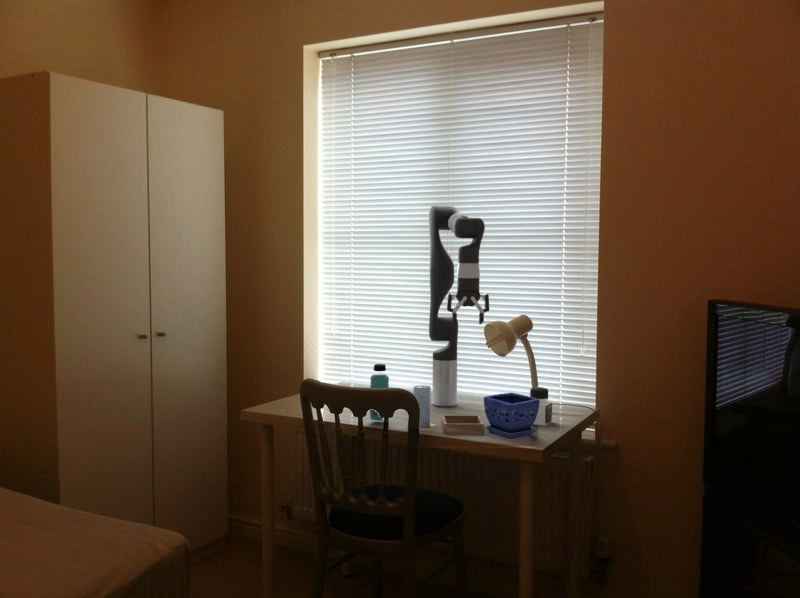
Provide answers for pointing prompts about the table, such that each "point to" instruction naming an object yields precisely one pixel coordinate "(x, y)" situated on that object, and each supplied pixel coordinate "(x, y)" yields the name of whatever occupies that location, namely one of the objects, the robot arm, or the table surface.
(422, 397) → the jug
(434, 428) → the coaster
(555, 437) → the table surface
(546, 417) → the medicine bottle
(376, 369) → the beverage bottle
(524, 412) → the flower pot
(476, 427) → the tray
